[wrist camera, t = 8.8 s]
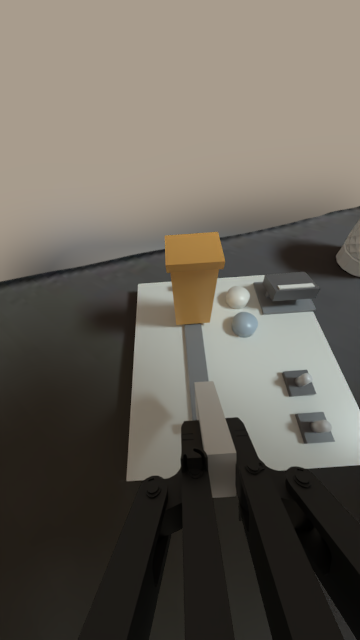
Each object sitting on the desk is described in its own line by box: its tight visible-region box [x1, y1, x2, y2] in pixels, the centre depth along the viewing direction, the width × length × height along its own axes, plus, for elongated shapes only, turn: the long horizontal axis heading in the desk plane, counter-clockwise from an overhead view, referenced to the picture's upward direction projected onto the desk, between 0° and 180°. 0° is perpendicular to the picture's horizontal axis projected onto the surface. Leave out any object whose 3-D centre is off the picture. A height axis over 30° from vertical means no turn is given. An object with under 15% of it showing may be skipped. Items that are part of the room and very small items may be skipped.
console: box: [126, 275, 360, 481], centre depth 23 cm, size 22×22×4 cm
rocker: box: [263, 272, 320, 301], centre depth 25 cm, size 5×4×2 cm
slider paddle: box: [165, 232, 225, 325], centre depth 21 cm, size 5×4×10 cm
